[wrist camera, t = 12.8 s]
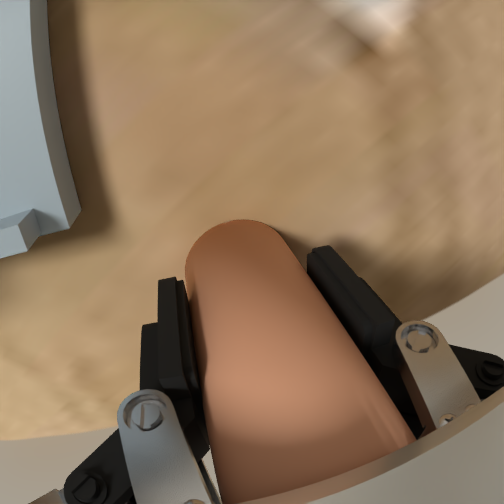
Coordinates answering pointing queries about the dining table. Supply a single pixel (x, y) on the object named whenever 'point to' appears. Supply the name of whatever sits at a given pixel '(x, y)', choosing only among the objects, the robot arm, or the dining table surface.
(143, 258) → the dining table surface
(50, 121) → the rail
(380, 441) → the dowel
